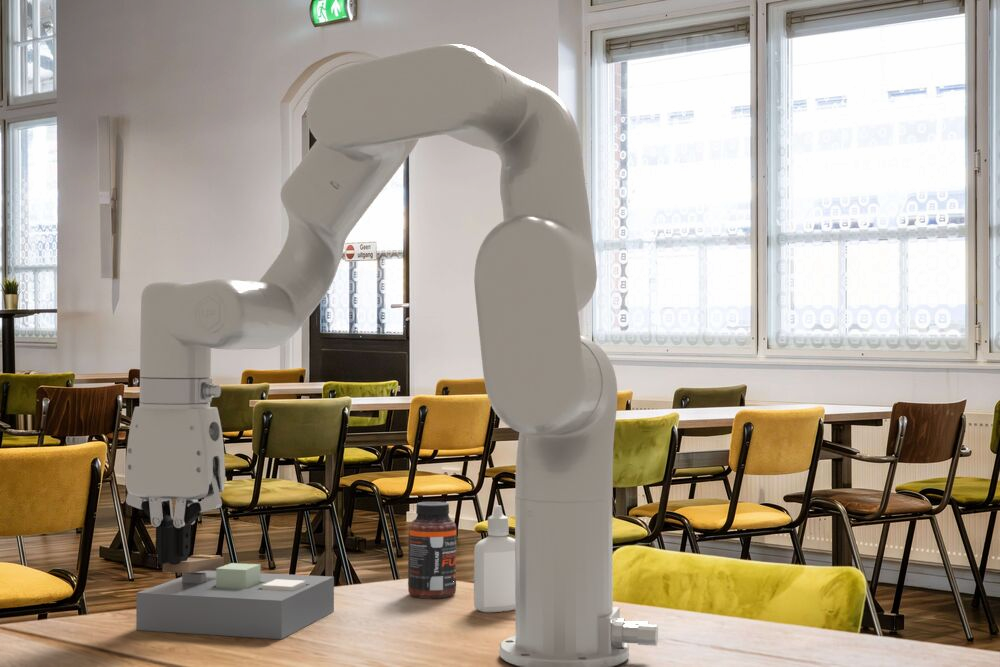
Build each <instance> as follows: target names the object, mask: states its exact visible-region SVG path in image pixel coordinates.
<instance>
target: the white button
mask: <svg viewBox="0 0 1000 667" xmlns="http://www.w3.org/2000/svg"><path fill="white" fill-rule="evenodd" d="M305 586H306V581H302V580H282V579H275V580H273V581H271V582H268V583H266V584H263V585H262V590H274V591H293V592H294V591H296V590H299V589H301V588H303V587H305Z"/></svg>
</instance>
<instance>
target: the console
mask: <svg viewBox="0 0 1000 667" xmlns="http://www.w3.org/2000/svg"><path fill="white" fill-rule="evenodd" d="M275 579H282V580H302V581H306V586H305V587H303V588H301V589H299V590H296V591H294V592H293V591H274V590H262V585H263V584H266V583H268V582H271V581H273V580H275ZM135 598H136V604H135V605H136V609H135V610H136V611H135V612H136V613H135V615H136V617H135V618H136V621H135V622H136V624H135V627H136V631H144V632H145V631H146V632H158V633H159V632H160V633H162V632H163V633H176V634H177V633H179V634H192V635H193V634H195V635H212V636H223V637H224V636H226V637H239V638H240V637H241V638H256V639H257V638H258V639H270V640H271V639H272V640H273V639H274V640H283V639H284V638H287V637H289V636H291V635H292V634H294V633H296V632H298V631H300V630H302V629H304V628H305V627H308V626H310V625H311V624H313V623H316V622H318V621H319V620H320V619H323V618H324V617H327V616H328V615H330V614H332V613H334V612H335V577H334V576H326V575H325V576H324V575H309V574H308V575H306V574H285V573H265V572H263V573H262V572H261V584H259V585H256V586H254V587H251V588H249V589H236V588H216V570H206V571H200V572H193V573H182V574H181V576H180V577H177V578H175V579H171V580H169V581H166V582H164V583H161V584H158V585H155V586H153V587H152V586H151V587H150V588H146V589H142V590H140V591H137V592H136V597H135Z"/></svg>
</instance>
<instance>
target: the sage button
mask: <svg viewBox="0 0 1000 667" xmlns="http://www.w3.org/2000/svg"><path fill="white" fill-rule="evenodd" d="M215 571H216V588H236V589H249V588H251V587H254V586H256V585H259V584H261V573H262V572H261V564H260V563H259V564H258V563H257V564H256V563H240V562H239V563H236V562H231V563H228V564H224V566H222V567H219V568H216V569H215Z"/></svg>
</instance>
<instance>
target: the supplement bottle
mask: <svg viewBox="0 0 1000 667" xmlns="http://www.w3.org/2000/svg"><path fill="white" fill-rule="evenodd" d="M415 510H416V511H415V513H416V514H417V516H416V517H415V519H413V520H412V521H410V523H409V524H408V537H407V538H408V540H407V542H408V543H407V544H408V546H407V548H408V550H407V552H408V553H407V555H408V556H407V557H408V559H407V560H408V562H407V563H408V564H407V568H408V570H407V571H408V572H407V586H408V588H407V589H408V594H409V595H411V596H412V597H414V598H419V599H445V598H449V597H451V596H454V595H455V594H456V592H457V525H456V523H455V521H453V520H452V519H451V517H450V515H449V514H450V504H449V503H448V502H447V501H421V502H417V503H416V509H415ZM453 581H454V582H453Z"/></svg>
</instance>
